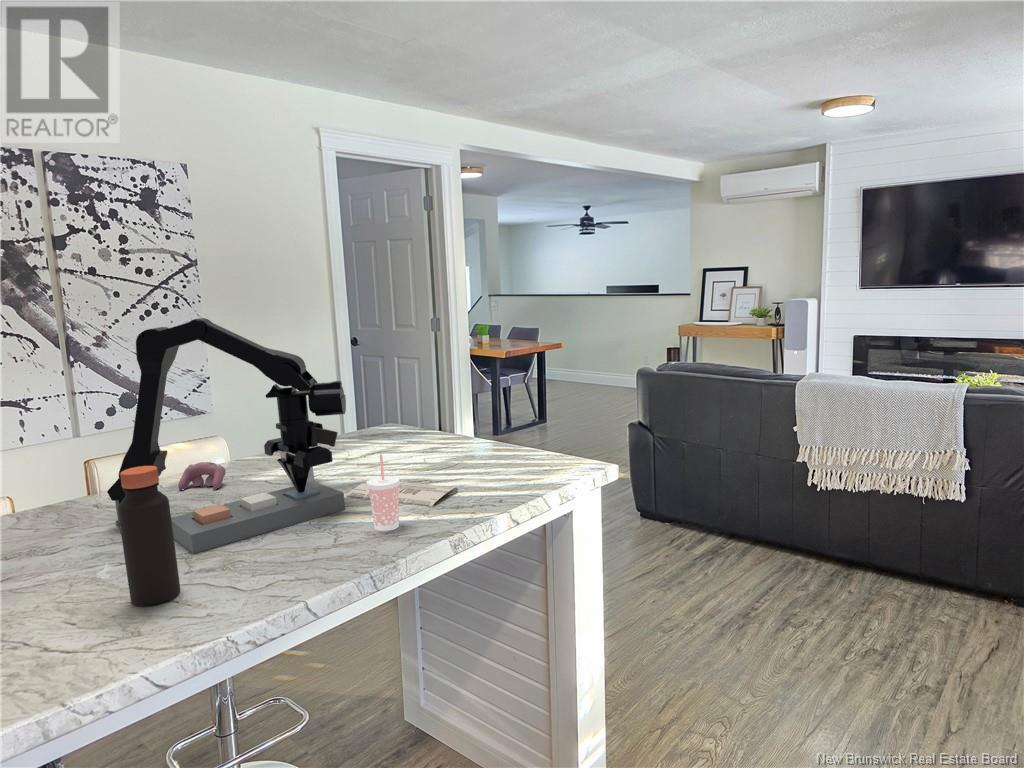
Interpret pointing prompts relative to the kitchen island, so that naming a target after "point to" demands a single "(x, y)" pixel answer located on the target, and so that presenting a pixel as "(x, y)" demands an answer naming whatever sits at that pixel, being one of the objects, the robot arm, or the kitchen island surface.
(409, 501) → the newspaper
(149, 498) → the bottle
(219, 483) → the video game controller
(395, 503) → the beverage cup
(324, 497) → the key panel
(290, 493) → the slate blue key
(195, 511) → the terracotta key
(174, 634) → the kitchen island surface
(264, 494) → the offwhite key
